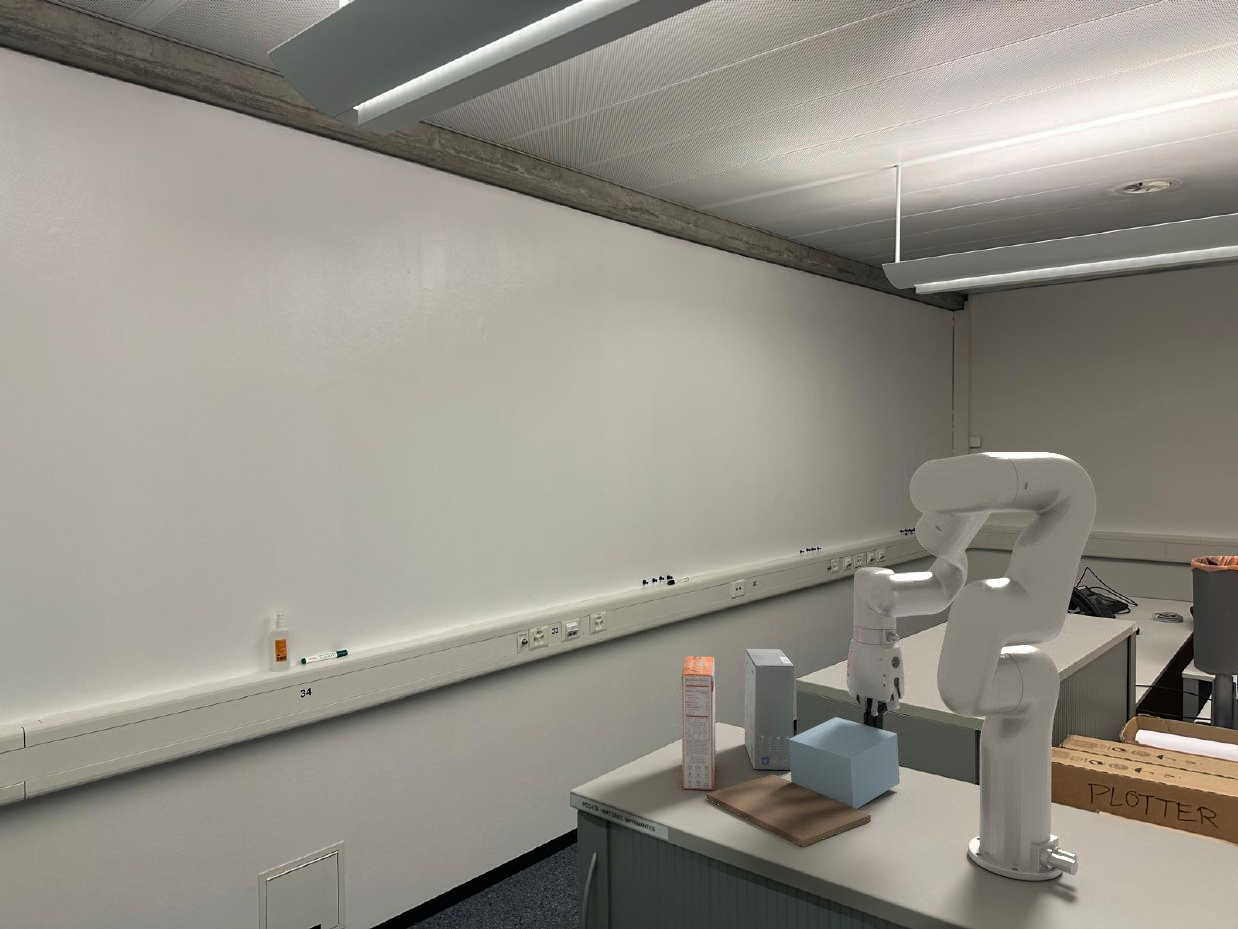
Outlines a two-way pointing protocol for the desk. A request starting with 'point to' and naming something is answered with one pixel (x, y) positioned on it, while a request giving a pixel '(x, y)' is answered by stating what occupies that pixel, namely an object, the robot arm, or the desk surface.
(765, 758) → the hard drive box
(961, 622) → the robot arm
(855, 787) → the carton
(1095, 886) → the desk surface
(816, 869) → the desk surface
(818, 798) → the thin wooden board
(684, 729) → the cracker box
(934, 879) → the desk surface
